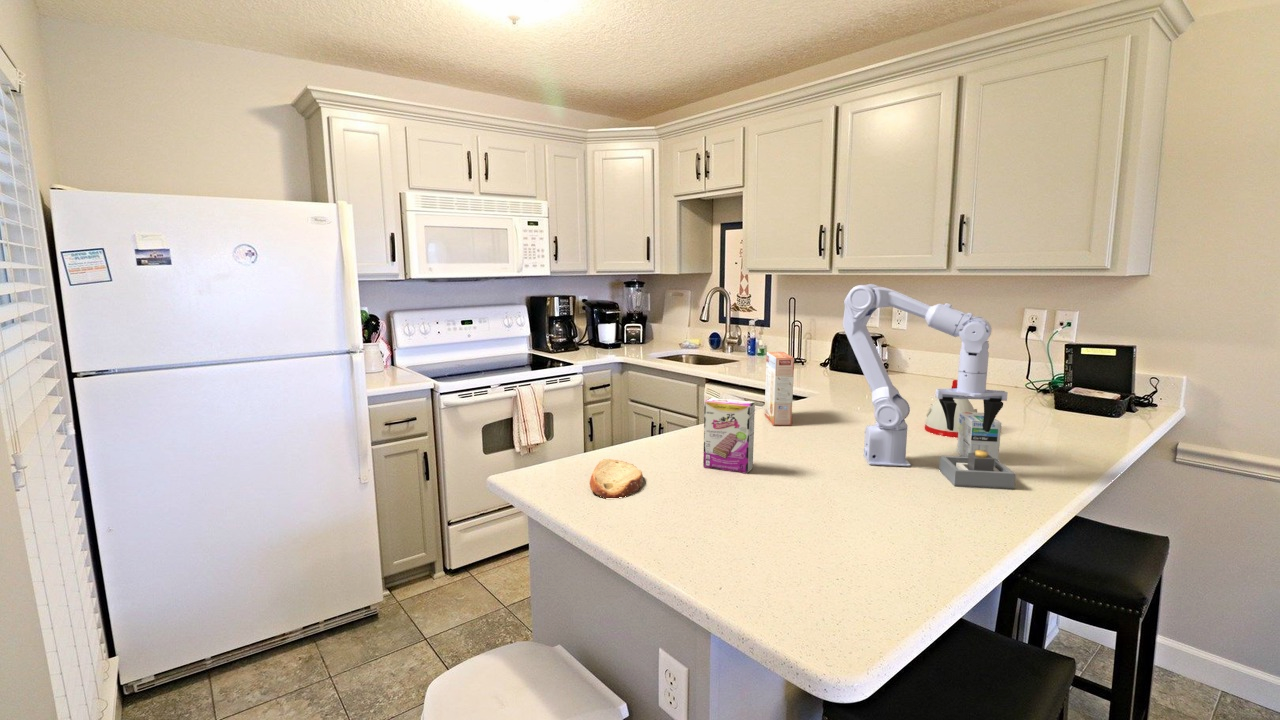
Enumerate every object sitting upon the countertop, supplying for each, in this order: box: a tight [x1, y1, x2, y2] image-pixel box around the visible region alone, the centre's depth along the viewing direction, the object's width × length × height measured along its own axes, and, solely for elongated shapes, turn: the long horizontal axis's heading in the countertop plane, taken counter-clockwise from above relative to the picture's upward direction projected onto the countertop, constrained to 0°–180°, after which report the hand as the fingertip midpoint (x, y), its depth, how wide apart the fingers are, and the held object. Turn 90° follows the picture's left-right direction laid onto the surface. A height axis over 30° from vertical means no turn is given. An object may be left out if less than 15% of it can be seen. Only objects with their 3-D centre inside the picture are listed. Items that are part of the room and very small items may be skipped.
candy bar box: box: [702, 397, 756, 474], centre depth 146 cm, size 11×5×16 cm, turn 65°
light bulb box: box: [956, 411, 1002, 461], centre depth 153 cm, size 11×7×11 cm, turn 169°
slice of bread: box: [589, 458, 644, 499], centre depth 139 cm, size 18×18×4 cm
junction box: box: [938, 455, 1016, 490], centre depth 138 cm, size 12×11×4 cm
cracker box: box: [764, 351, 795, 427], centre depth 191 cm, size 14×6×21 cm, turn 179°
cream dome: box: [924, 379, 978, 439], centre depth 178 cm, size 14×14×15 cm
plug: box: [967, 450, 994, 471], centre depth 138 cm, size 4×4×6 cm
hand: (968, 430), depth 141 cm, fingers open, 7 cm apart
